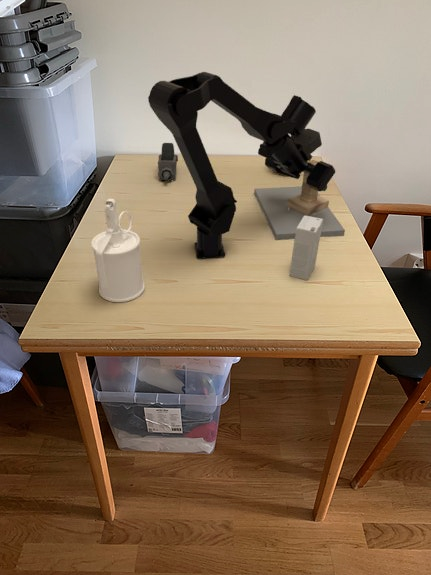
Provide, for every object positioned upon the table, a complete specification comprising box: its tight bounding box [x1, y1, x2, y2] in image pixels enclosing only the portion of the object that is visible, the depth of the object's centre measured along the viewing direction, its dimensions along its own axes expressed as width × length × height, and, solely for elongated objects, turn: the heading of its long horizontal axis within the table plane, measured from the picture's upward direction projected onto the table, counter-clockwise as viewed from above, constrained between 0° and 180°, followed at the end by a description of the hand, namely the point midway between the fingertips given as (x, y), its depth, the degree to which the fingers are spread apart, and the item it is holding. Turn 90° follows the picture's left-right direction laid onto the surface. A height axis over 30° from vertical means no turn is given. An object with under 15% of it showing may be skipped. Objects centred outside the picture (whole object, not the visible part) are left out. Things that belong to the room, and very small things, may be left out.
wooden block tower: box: [287, 159, 330, 216], centre depth 121 cm, size 8×7×12 cm
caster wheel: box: [157, 142, 179, 182], centre depth 141 cm, size 6×10×15 cm
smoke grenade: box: [90, 198, 146, 303], centre depth 91 cm, size 10×9×20 cm
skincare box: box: [289, 216, 323, 281], centre depth 99 cm, size 6×4×12 cm
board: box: [253, 185, 346, 241], centre depth 125 cm, size 26×17×2 cm, turn 8°
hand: (312, 183), depth 121 cm, fingers open, 9 cm apart
